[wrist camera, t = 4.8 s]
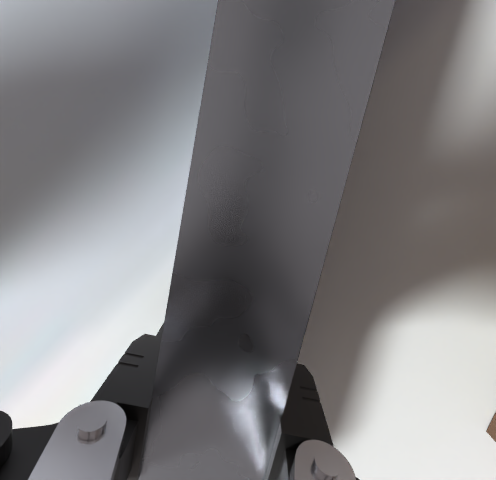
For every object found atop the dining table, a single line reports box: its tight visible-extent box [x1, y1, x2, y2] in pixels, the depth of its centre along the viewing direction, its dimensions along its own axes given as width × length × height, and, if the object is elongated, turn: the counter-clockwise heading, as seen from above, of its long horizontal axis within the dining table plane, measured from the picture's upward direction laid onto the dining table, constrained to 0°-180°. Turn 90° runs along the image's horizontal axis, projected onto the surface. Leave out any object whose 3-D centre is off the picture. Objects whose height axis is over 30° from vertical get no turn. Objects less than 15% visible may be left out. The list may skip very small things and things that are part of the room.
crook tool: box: [138, 0, 395, 480], centre depth 8 cm, size 12×29×4 cm, turn 168°
